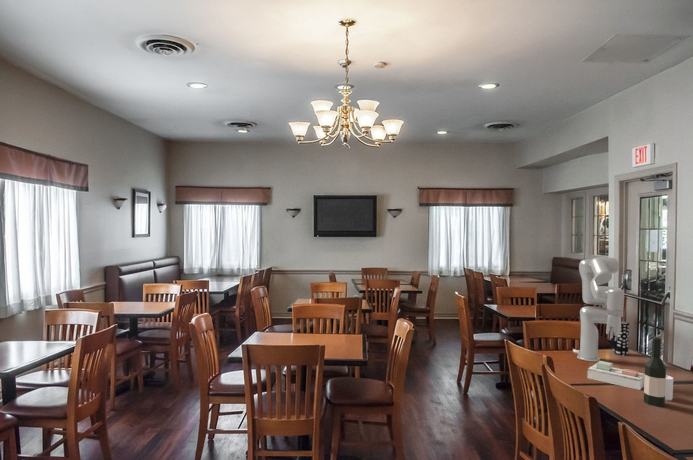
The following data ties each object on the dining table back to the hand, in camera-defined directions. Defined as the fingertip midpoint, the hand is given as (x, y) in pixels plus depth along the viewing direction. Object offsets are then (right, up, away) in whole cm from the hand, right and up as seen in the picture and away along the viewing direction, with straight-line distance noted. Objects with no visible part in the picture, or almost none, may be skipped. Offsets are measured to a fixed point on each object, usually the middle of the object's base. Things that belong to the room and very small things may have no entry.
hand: (613, 347), depth 251 cm
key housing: (+1, -17, -1) cm, 17 cm away
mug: (+10, -18, -22) cm, 30 cm away
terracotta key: (+5, -13, -6) cm, 16 cm away
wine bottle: (0, -17, -33) cm, 37 cm away
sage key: (-3, -12, +3) cm, 12 cm away
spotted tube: (+35, -18, +56) cm, 68 cm away
